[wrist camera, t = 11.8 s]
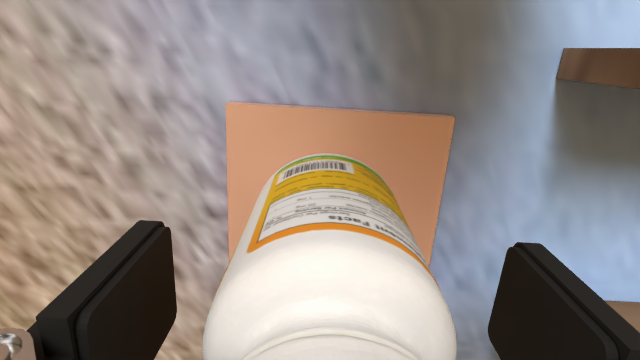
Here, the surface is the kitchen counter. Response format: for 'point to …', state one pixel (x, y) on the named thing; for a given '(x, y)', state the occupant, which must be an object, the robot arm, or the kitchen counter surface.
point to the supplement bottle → (328, 274)
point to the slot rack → (615, 70)
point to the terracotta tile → (345, 139)
